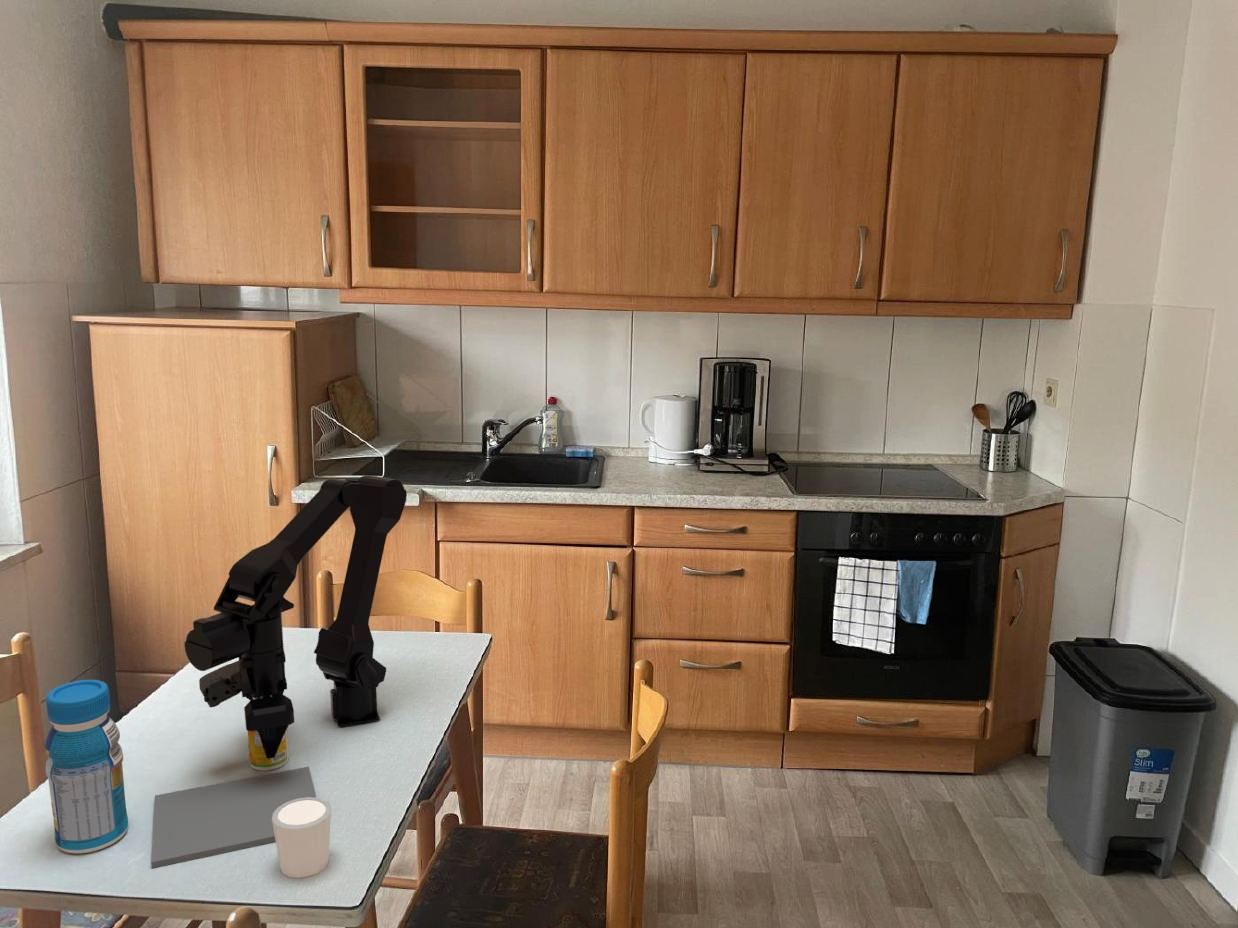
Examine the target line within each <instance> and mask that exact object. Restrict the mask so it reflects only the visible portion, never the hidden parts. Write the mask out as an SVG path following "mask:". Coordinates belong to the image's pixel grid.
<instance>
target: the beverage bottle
mask: <svg viewBox="0 0 1238 928" xmlns="http://www.w3.org/2000/svg"><path fill="white" fill-rule="evenodd" d="M110 698H111V697H110V689H109V687H108V684H107V683H106V682H104V681H102V680H99V679H81V680H80V679H79V680H76V681H75V680H74V681H71V682H70V681H69V682H67V683H63V684H60V685H59V686H57V687H54V688H53V689H52V690H50V691H49V692H48V693H47V695H46V700H45V702H46V711H47V712H46V713H47V717H48V720H49V722H50V723H51V724H52V727H51V728H50V730H49V731H48V734H47V736H46V739H45V742H44V753H45V755H46V756H47V757H48V758H47V760H46V761H45V774H46V777H47V778H48V786H49V794H50V795H49V796H50V802H51V803H50V804H51V809H52V810H51V811H52V818H53V826H54V841H55V844H56V846H57V848H58V849H59V850H61V851H62V852H65V853H69V854H86V853H92V852H96V851H100V850H102V849H105V848H107V847H109V846H111V845H114V844H115V843H116V842H118V841H119V840H120V839H122V838H123V836H125V834H126V833H127V831H128V828H129V817H128V811H127V803H126V793H125V792H126V791H125V782H124V781H125V780H124V771H123V769H124V767H123V761H124V751H123V748H122V746H121V745H120V743H119V740H120V738H121V733H120V729H119V728H118V726H117V724H116V722H115V720H113V719H112V718H111V716H109V715H108V713H110V710H111V699H110Z"/></svg>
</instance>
